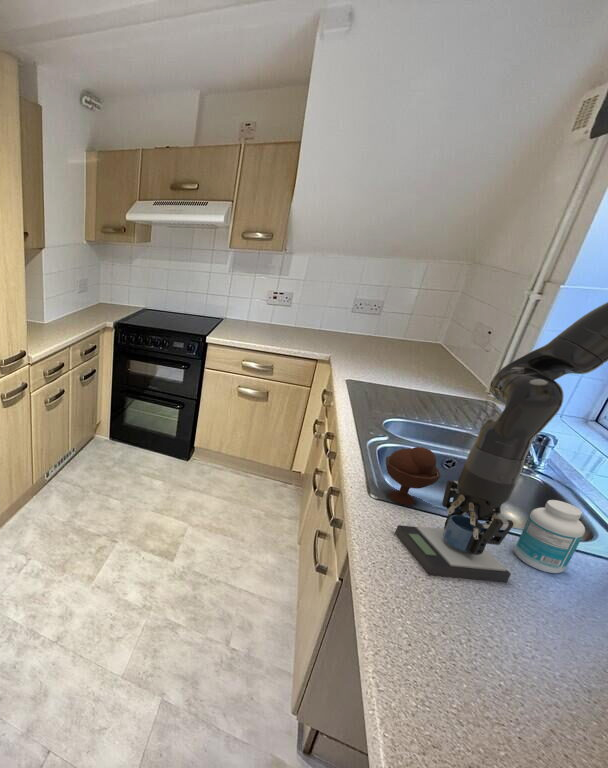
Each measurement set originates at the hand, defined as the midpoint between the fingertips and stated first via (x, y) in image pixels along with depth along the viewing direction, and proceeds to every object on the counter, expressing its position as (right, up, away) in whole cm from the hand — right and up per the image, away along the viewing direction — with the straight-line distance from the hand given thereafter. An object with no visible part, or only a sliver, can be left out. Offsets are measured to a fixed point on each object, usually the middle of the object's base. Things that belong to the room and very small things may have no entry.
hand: (460, 541), depth 84 cm
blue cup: (0, -1, 0) cm, 1 cm away
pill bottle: (+16, -5, +1) cm, 17 cm away
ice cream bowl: (+3, +3, +20) cm, 20 cm away
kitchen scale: (-2, -4, +2) cm, 4 cm away
